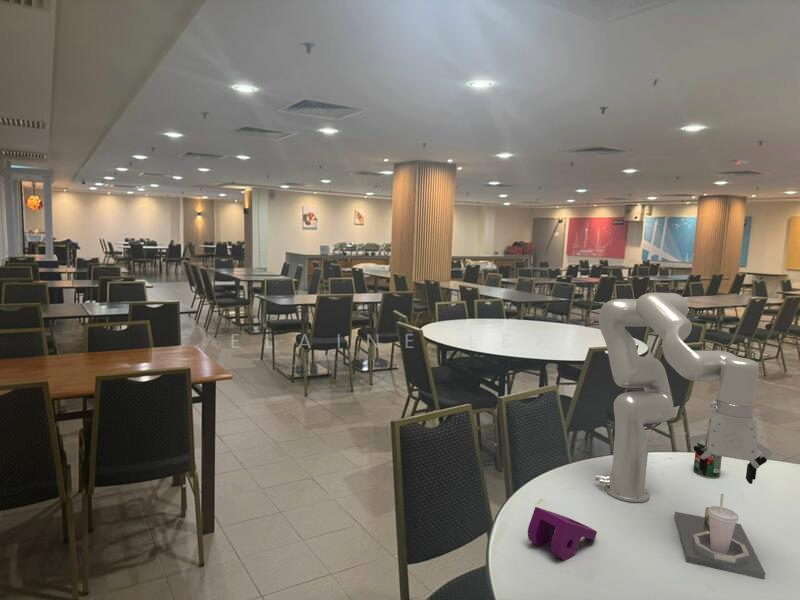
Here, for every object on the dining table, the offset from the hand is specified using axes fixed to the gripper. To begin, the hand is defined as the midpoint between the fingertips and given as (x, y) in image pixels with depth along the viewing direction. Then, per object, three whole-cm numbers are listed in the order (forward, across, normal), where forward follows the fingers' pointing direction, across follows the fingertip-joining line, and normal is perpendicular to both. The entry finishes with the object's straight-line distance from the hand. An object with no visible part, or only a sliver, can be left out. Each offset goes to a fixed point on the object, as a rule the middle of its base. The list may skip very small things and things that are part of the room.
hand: (725, 477), depth 130 cm
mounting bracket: (+21, -35, -11) cm, 42 cm away
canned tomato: (+21, +6, +56) cm, 60 cm away
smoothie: (+18, 0, -1) cm, 19 cm away
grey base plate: (+20, 0, +5) cm, 20 cm away
